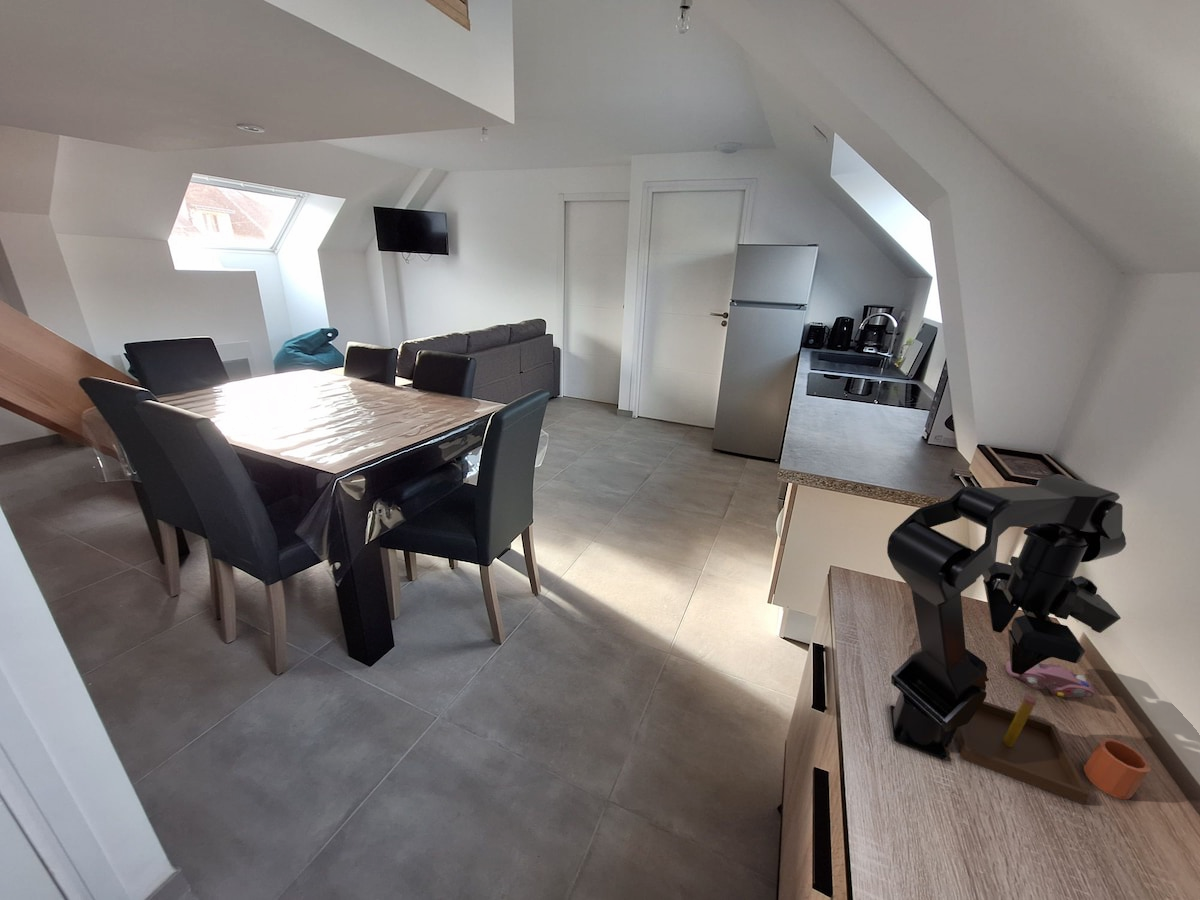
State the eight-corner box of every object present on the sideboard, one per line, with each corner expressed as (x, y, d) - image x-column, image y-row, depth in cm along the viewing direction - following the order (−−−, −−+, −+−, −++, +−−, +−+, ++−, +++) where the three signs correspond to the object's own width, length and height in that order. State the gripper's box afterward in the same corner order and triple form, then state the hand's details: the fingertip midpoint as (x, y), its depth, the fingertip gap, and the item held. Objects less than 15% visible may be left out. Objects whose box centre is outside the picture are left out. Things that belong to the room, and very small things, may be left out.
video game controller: (1005, 687, 79) (1025, 673, 74) (1001, 662, 81) (1020, 647, 76) (1079, 710, 75) (1106, 697, 70) (1073, 683, 77) (1098, 668, 73)
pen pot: (1092, 789, 61) (1110, 761, 60) (1077, 759, 65) (1093, 732, 63) (1138, 806, 60) (1158, 778, 58) (1120, 774, 64) (1138, 747, 62)
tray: (961, 758, 65) (966, 748, 64) (945, 698, 74) (949, 689, 74) (1083, 804, 60) (1089, 794, 59) (1049, 733, 69) (1054, 724, 68)
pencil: (1003, 745, 66) (1026, 700, 63) (1001, 738, 67) (1023, 693, 64) (1014, 749, 66) (1038, 704, 63) (1011, 741, 67) (1034, 697, 64)
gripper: (1168, 626, 52) (1108, 724, 57) (1090, 547, 68) (1049, 630, 73) (1043, 596, 56) (999, 689, 62) (997, 528, 72) (966, 607, 78)
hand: (1005, 650), depth 68 cm, fingers open, 9 cm apart
